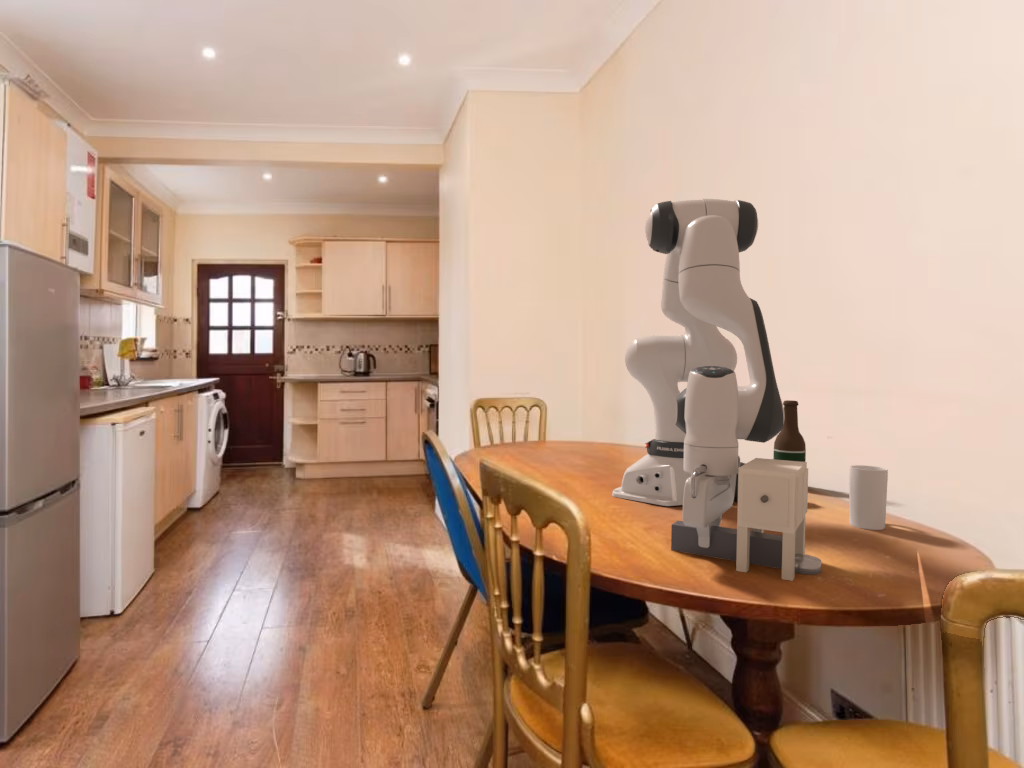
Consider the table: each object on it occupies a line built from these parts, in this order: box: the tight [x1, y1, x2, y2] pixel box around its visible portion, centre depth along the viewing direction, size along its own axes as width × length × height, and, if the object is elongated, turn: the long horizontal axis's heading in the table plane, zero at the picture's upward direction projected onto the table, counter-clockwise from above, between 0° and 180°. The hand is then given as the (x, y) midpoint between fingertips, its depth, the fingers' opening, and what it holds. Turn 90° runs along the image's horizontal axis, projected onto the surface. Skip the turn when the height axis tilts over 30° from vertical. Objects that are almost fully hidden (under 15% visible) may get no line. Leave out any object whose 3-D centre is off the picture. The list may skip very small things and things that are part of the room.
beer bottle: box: [772, 399, 807, 462], centre depth 160 cm, size 8×8×24 cm
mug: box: [848, 464, 889, 531], centre depth 124 cm, size 10×7×12 cm, turn 150°
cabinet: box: [735, 457, 809, 582], centre depth 97 cm, size 8×15×16 cm, turn 148°
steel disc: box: [795, 554, 822, 576], centre depth 95 cm, size 5×5×2 cm
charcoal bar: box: [670, 520, 783, 570], centre depth 101 cm, size 18×4×4 cm, turn 58°
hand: (708, 543), depth 103 cm, fingers closed on charcoal bar, 3 cm apart
